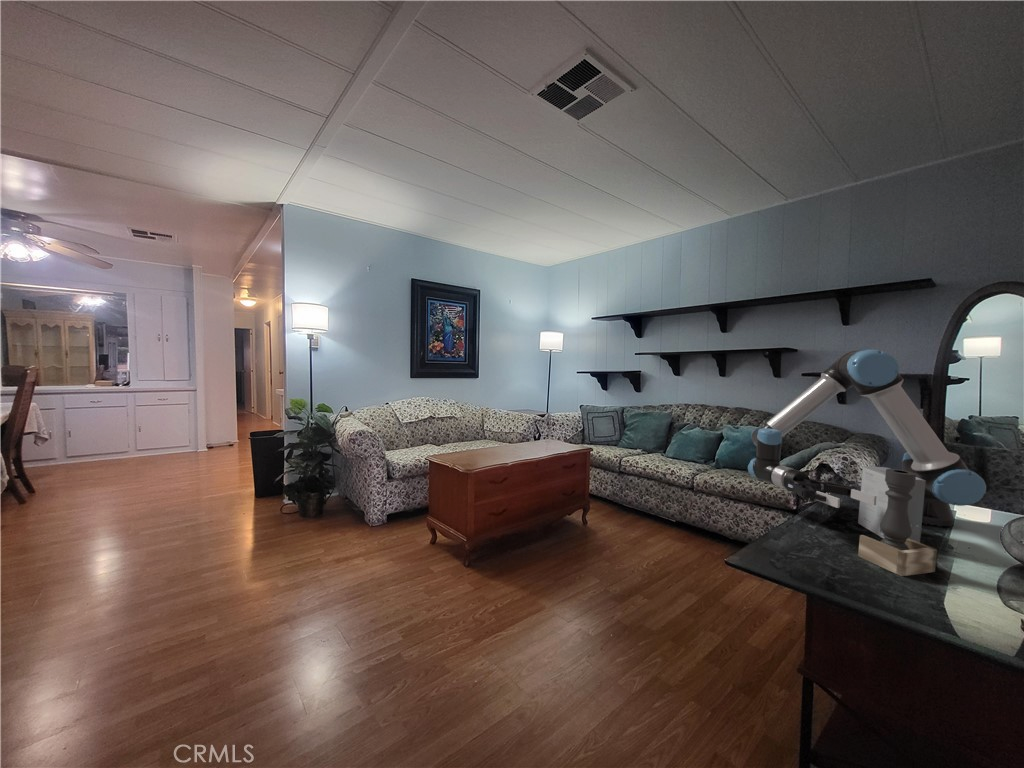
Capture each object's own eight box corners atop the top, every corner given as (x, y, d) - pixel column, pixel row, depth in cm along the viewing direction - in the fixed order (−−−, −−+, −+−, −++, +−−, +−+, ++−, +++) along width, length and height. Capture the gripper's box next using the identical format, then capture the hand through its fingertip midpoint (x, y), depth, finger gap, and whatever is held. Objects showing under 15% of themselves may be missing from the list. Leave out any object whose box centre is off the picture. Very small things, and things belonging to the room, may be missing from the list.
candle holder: (877, 554, 110) (885, 467, 108) (908, 563, 106) (917, 472, 104) (876, 562, 106) (884, 471, 104) (908, 571, 101) (917, 476, 100)
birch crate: (889, 552, 111) (891, 532, 111) (934, 571, 101) (937, 549, 101) (858, 556, 109) (859, 535, 108) (901, 576, 99) (903, 553, 98)
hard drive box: (921, 547, 115) (927, 480, 114) (890, 544, 117) (896, 478, 115) (882, 525, 130) (888, 466, 129) (856, 523, 132) (861, 464, 130)
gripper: (819, 488, 138) (888, 511, 117) (760, 492, 132) (822, 517, 112) (820, 467, 137) (891, 487, 117) (761, 470, 132) (824, 491, 111)
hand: (857, 502), depth 114 cm, fingers open, 13 cm apart
